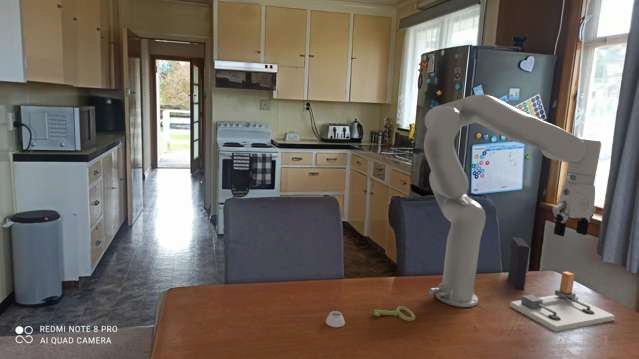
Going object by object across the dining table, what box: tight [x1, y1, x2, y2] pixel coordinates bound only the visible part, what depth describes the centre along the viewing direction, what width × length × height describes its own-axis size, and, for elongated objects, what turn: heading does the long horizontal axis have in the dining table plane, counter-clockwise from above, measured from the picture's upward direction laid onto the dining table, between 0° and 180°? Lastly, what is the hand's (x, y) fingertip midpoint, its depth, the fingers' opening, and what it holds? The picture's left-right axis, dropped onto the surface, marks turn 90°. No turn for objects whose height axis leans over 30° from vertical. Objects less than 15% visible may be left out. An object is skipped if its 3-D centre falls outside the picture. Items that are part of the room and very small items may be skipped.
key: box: [372, 305, 416, 322], centre depth 125 cm, size 7×12×2 cm, turn 119°
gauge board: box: [509, 294, 615, 332], centre depth 135 cm, size 24×16×4 cm, turn 113°
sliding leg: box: [554, 271, 590, 310], centre depth 137 cm, size 4×10×8 cm, turn 23°
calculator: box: [507, 237, 531, 290], centre depth 156 cm, size 11×4×15 cm, turn 168°
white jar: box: [325, 310, 346, 328], centre depth 119 cm, size 5×3×5 cm
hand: (570, 234), depth 138 cm, fingers open, 9 cm apart
